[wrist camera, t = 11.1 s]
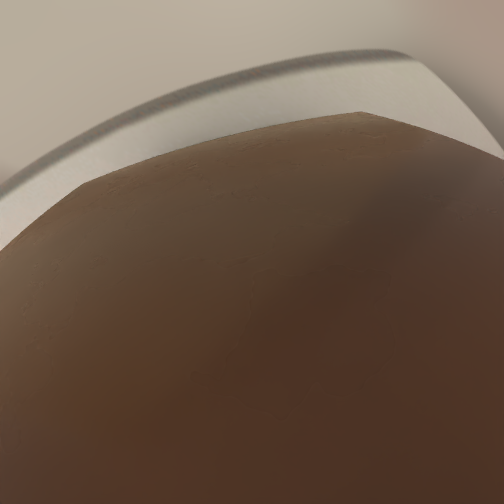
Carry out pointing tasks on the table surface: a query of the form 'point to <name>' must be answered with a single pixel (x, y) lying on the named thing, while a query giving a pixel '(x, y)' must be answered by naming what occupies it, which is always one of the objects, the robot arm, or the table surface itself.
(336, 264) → the lid
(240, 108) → the table surface
